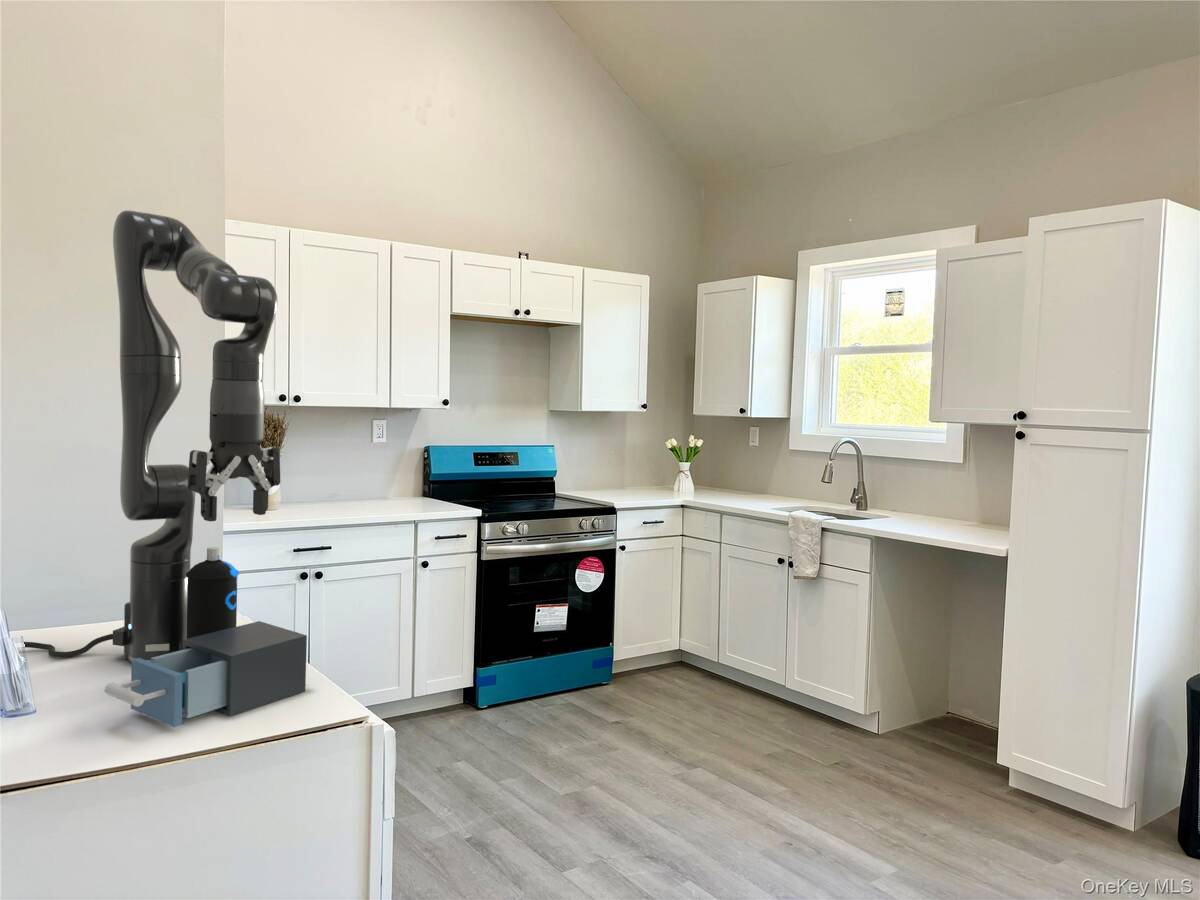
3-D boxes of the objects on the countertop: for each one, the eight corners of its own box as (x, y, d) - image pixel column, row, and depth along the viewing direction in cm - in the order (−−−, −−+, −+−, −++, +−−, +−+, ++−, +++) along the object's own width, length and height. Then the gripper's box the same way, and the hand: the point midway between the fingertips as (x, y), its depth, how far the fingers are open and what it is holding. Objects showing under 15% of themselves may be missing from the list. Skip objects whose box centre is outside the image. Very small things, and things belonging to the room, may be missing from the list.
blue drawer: (140, 738, 119) (140, 685, 118) (97, 718, 125) (97, 668, 124) (251, 701, 134) (252, 654, 133) (208, 685, 139) (209, 640, 139)
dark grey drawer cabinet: (229, 716, 130) (231, 656, 129) (182, 697, 136) (182, 639, 135) (305, 691, 142) (306, 635, 141) (258, 674, 148) (259, 620, 147)
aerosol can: (185, 674, 146) (187, 554, 144) (183, 659, 153) (184, 544, 151) (239, 669, 149) (242, 552, 148) (235, 654, 157) (237, 542, 155)
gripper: (261, 408, 141) (259, 509, 143) (177, 408, 129) (176, 519, 131) (293, 411, 137) (290, 515, 139) (209, 412, 125) (207, 526, 127)
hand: (235, 517), depth 135 cm, fingers open, 8 cm apart
